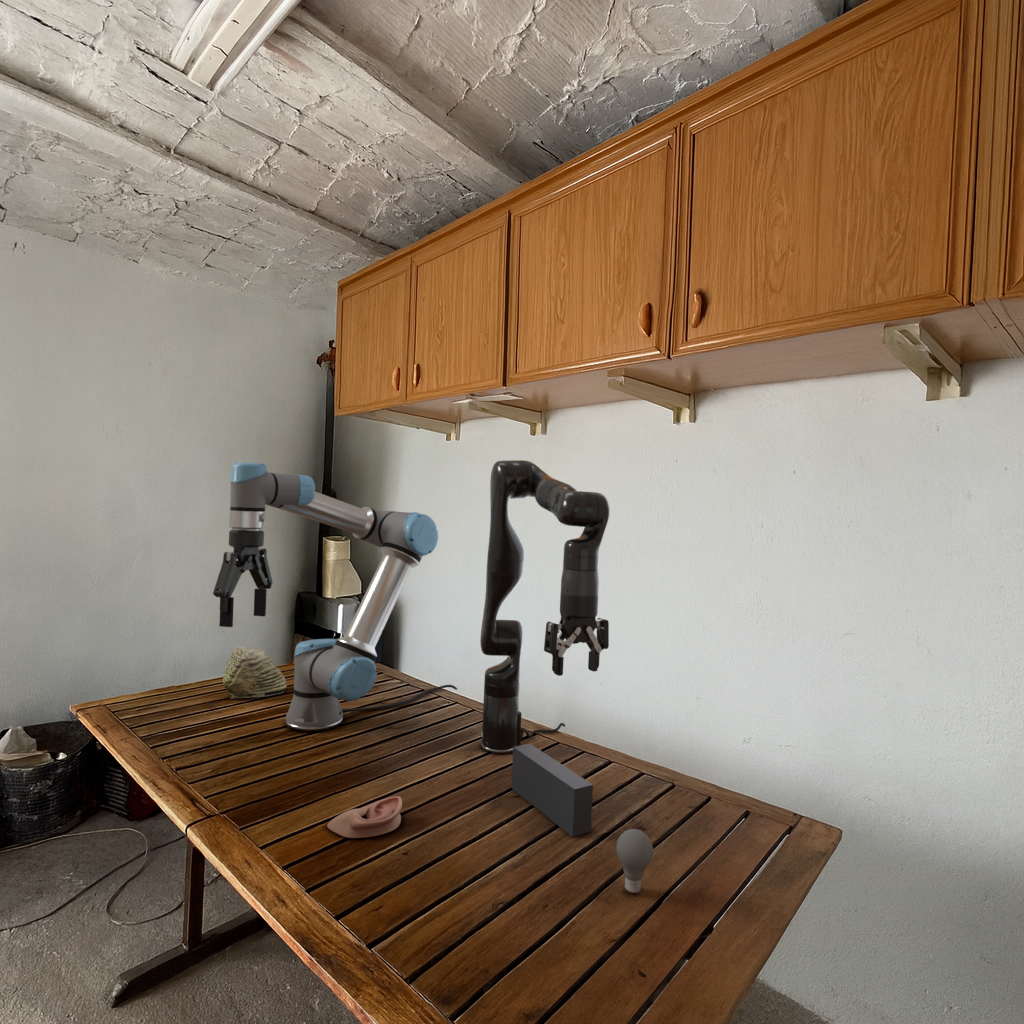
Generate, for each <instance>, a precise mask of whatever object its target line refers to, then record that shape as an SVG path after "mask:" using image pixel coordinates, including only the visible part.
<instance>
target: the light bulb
mask: <svg viewBox="0 0 1024 1024" xmlns="http://www.w3.org/2000/svg"><path fill="white" fill-rule="evenodd" d="M615 849H616V854H617V857H618V859H619V861H620V863H621V865H622V867H623V873H624V874H623V875H624V876H625V878H624V888H625V890H627V891H628V892H630V893H634V894H635V893H639V892H640V891H641V889H642V887H641V886H642V879H643V877H644V875H645V871H646V868H647V867H648V866H649V864H650V863H651V861H652V859H653V855H654V847H653V843H652V841H651V838H649V836H648V835H647V834H646V833H645V832H643V831H642V830H641V829H636V828H629V829H627V830H625V831H623V832H622V833H621V834H620V835H619V837H618V839H617V841H616V847H615Z"/></svg>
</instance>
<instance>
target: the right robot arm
mask: <svg viewBox="0 0 1024 1024" xmlns="http://www.w3.org/2000/svg"><path fill="white" fill-rule="evenodd" d="M489 485H490V487H489V489H490V490H489V493H490V494H489V495H490V501H489V502H490V521H489V522H490V523H489V536H488V537H489V538H488V546H487V547H488V548H487V549H488V550H487V556H486V557H487V559H486V577H485V598H484V607H483V614H482V621H481V628H480V629H481V630H480V638H479V640H480V642H479V643H480V644H479V645H480V650H481V653H482V654H483V655H484V656H491V657H492V656H493V657H495V656H497V657H506V658H505V659H504V660H503V661H501V662H499V663H498V664H495V665H493V666H489V667H488V668H487V669H486V670H485V671H484V678H483V679H484V680H483V703H482V705H483V706H482V727H481V731H480V733H481V734H480V735H481V743H480V748H481V749H482V750H484V751H485V752H487V753H491V754H499V755H500V754H501V755H502V754H510V753H513V747H516V746H521V740H524V733H525V734H526V737H527V738H531V737H532V736H533V735H534V734H537V733H556V732H558V731H559V730H560V728H562V727H563V728H564V727H566V724H565V723H564V722H560V723H559V724H558V726H557V727H556V728H553V729H534V730H532V731H531V732H529V731H528V730H527V729H524V727H523V726H522V711H521V710H519V707H520V688H521V687H520V686H521V666H522V653H523V643H524V628H523V627H524V626H523V624H522V622H521V621H520V620H518V619H497V617H498V615H499V612H500V610H501V607H502V605H503V604H504V602H505V601H506V599H508V597H509V596H510V595H511V593H512V592H513V591H514V590H515V588H516V587H517V586H518V584H519V583H520V581H521V580H522V577H523V574H524V567H525V554H526V553H525V547H524V544H523V542H522V540H521V538H520V535H518V533H517V530H516V529H515V527H514V526H513V523H512V522H511V519H510V518H511V517H510V515H509V500H513V499H526V498H534V499H535V502H536V504H537V505H538V506H539V507H540V508H541V509H543V510H544V511H547V512H549V513H551V514H552V515H553V516H554V517H555V518H556V519H557V521H558V522H559V523H560V524H562V525H564V526H567V527H571V528H575V527H577V528H581V527H582V528H583V530H582V532H581V534H580V536H578V537H574V538H571V539H567V540H566V541H565V542H564V545H563V557H562V558H563V560H562V571H561V579H560V596H559V597H560V598H559V615H560V620H559V622H553V621H550V620H548V621H547V622H546V624H545V633H544V642H543V651H544V652H545V653H548V654H550V655H552V659H551V660H552V661H551V663H552V664H551V670H552V672H553V674H554V675H556V676H558V677H561V676H563V674H564V659H565V658H564V655H565V653H566V651H567V650H568V649H570V648H571V647H572V645H576V644H579V643H582V644H586V645H587V647H588V649H589V651H588V658H587V659H588V660H587V661H588V662H587V669H588V670H589V671H591V672H597V671H598V669H599V667H600V655H601V652H602V651H604V650H608V649H609V647H610V646H609V645H610V644H609V643H610V634H609V633H610V630H609V629H610V628H609V627H610V626H609V625H610V623H609V622H610V621H609V620H608V619H606V618H601V617H598V618H597V619H596V617H597V616H598V612H599V591H600V590H599V589H600V587H599V586H600V578H599V577H600V576H599V564H600V563H599V561H600V550H601V547H602V546H601V545H602V542H603V539H604V535H605V533H606V530H607V526H608V523H609V520H610V515H611V506H610V503H609V500H608V498H607V496H606V495H605V494H603V493H602V492H599V491H581V490H580V491H579V490H577V489H576V488H575V487H574V486H573V485H571V484H568V483H567V482H564V481H562V480H561V481H560V480H558V479H556V478H553V477H552V476H550V475H549V474H547V472H545V471H544V470H543V469H541V468H540V467H539V466H538V465H537V464H536V463H534V462H531V461H529V460H523V459H521V460H519V459H517V460H512V459H511V460H497V461H495V462H494V464H493V465H492V467H491V473H490V483H489ZM595 630H596V635H595V633H594V632H595Z"/></svg>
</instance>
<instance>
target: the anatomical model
mask: <svg viewBox="0 0 1024 1024" xmlns="http://www.w3.org/2000/svg"><path fill="white" fill-rule="evenodd" d="M402 808H403V799H402V797H401V796H399V795H395V796H389V797H385V798H383V799H379V800H376V801H374V802H372V803H369V804H367V805H365V806H362V807H359V808H353V809H349V810H346V811H344V812H341V813H340V814H338V815H337V816H335V817H334V818H332V819H331V820H330V821H329V822H328V823H327V828H328V829H329V830H330V831H331V832H333V833H335V834H337V835H339V836H340V837H341V836H342V837H344V838H347V839H360V838H370V837H371V838H372V837H377V836H382V835H384V834H387V833H390V832H392V831H394V830H396V829H397V828H398V827H399V826H400V824H401V822H402V815H401V811H402Z"/></svg>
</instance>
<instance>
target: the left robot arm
mask: <svg viewBox="0 0 1024 1024" xmlns="http://www.w3.org/2000/svg"><path fill="white" fill-rule="evenodd" d="M267 467H268V466H267V465H266V464H265V463H261V462H260V463H259V462H245V461H244V462H242V461H238V462H234V463H233V464H232V467H231V472H230V480H229V483H230V500H229V501H230V502H229V503H230V504H229V506H230V507H229V519H228V520H229V521H228V527H229V528H231V529H230V530H229V531H228V545H229V547H232V548H233V550H232V551H224V552H223V557H222V558H223V559H222V564H221V567H220V569H219V573H218V576H217V579H216V583H215V585H214V589H213V591H212V594H213V596H215V597H216V598H219V625H218V626H219V627H223V628H233V627H234V604H235V603H234V602H235V601H234V600H235V598H234V596H232V595H233V593H234V592H235V589H236V587H237V585H238V582H239V581H240V580H241V576H242V574H244V573H245V572H246V571H249V573H250V575H251V578H252V580H253V583H254V584H255V586H256V588H254V592H253V593H254V594H253V595H254V596H253V600H254V601H253V616H254V617H266V616H267V615H266V614H267V590H268V589H269V590H270V589H272V586H273V583H274V582H273V578H272V577H273V576H272V574H271V569H270V565H269V562H268V561H269V560H268V553H267V552H268V551H267V548H264V547H263V546H264V545H265V531H264V530H262V529H265V520H266V516H265V513H266V506H269V507H272V508H276V509H279V510H282V511H286V512H288V513H291V514H294V515H297V516H300V517H303V518H306V519H309V520H312V521H315V522H318V523H321V524H324V525H327V526H330V527H333V528H337V529H339V530H342V531H345V532H348V533H351V534H352V535H353V537H354V538H356V539H359V540H361V541H364V542H366V543H369V544H370V545H373V546H375V547H379V548H380V551H381V553H382V557H381V560H380V562H379V564H378V566H377V567H376V570H375V572H374V574H373V576H372V578H371V581H370V582H369V585H368V587H367V589H366V591H365V593H364V595H363V597H362V599H361V602H359V603H360V604H359V606H358V607H357V610H356V612H355V614H354V616H353V618H352V620H351V622H350V624H349V627H348V628H347V631H346V632H345V635H343V636H341V637H339V638H318V639H308V640H304V641H300V642H299V643H297V644H296V646H295V650H294V655H293V657H294V672H293V673H294V674H293V695H292V696H293V697H292V699H291V702H290V704H289V708H288V711H287V713H286V715H285V726H286V728H287V729H289V730H291V731H294V732H295V731H296V732H301V733H316V732H325V731H329V730H332V729H335V728H337V727H339V726H340V725H342V723H343V722H344V714H343V713H346V712H365V711H373V710H380V709H387V708H392V707H397V706H400V705H404V704H407V703H411V702H412V701H414V700H416V699H417V698H420V697H421V696H423V695H425V694H427V693H431V692H434V691H438V690H442V689H445V688H452V689H454V690H458V687H457V686H455V685H453V684H444V685H440V686H436V687H433V688H429V689H426V690H424V691H422V692H420V693H418V694H416V695H414V696H413V697H411V698H408V699H406V700H402V701H399V702H394V703H390V704H385V705H377V706H369V707H359V708H358V707H357V708H355V707H354V708H342V706H341V702H340V700H343V701H347V702H353V701H354V702H355V701H357V700H359V699H361V698H363V697H365V696H366V695H367V694H368V693H369V692H370V691H371V690H372V688H373V687H374V685H375V683H376V681H377V675H378V672H377V666H376V665H375V662H376V661H377V660H376V659H377V658H378V654H377V651H376V646H377V644H378V642H379V640H380V638H381V636H382V633H383V631H384V629H385V627H386V624H387V622H388V620H389V618H390V615H391V614H392V612H393V610H394V607H395V605H396V603H397V600H398V598H399V597H400V594H401V592H402V589H403V588H404V585H405V582H406V581H407V579H408V576H409V575H410V572H411V570H412V569H414V568H416V567H418V566H419V565H420V563H421V561H422V559H423V557H424V556H425V557H426V556H427V555H429V554H431V553H433V552H434V550H435V549H436V548H437V545H438V541H439V530H438V529H437V525H436V523H435V521H434V520H433V518H431V517H430V516H429V515H427V514H425V513H420V512H405V511H397V510H396V511H395V510H381V509H375V508H372V507H368V506H363V507H359V506H356V505H353V504H350V503H348V502H345V501H343V500H339V499H337V498H334V497H331V496H329V495H326V494H323V493H320V492H317V491H316V485H315V481H314V479H313V478H312V477H311V476H310V475H306V474H300V473H281V472H280V473H279V472H269V471H268V468H267ZM262 547H263V548H262Z"/></svg>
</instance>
